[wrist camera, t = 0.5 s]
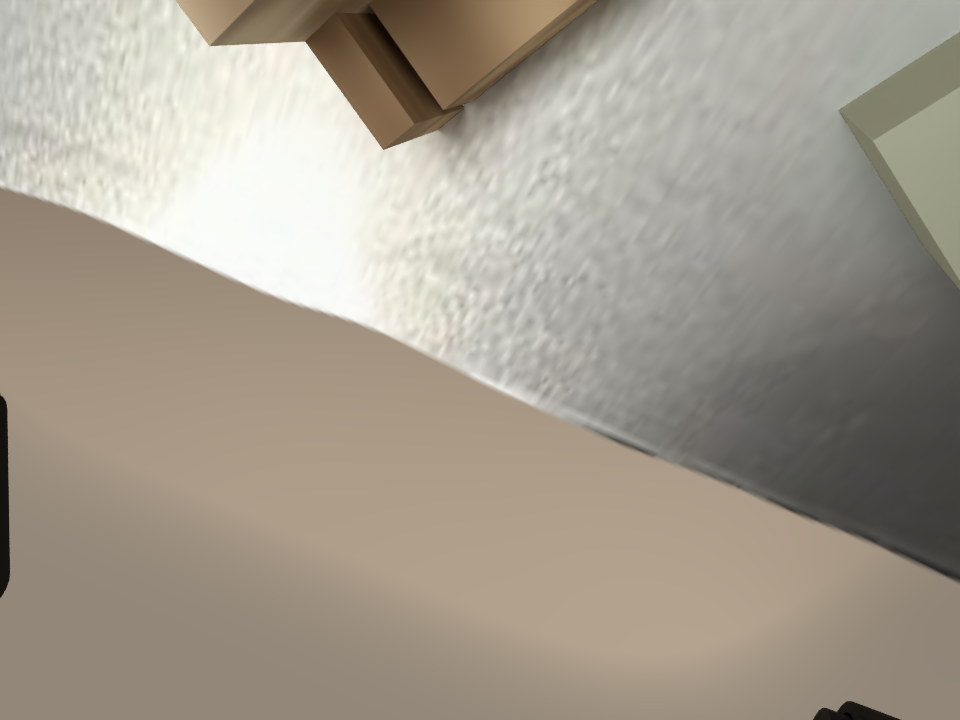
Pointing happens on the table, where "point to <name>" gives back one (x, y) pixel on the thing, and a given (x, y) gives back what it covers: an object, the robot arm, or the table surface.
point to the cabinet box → (919, 146)
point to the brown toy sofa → (396, 48)
